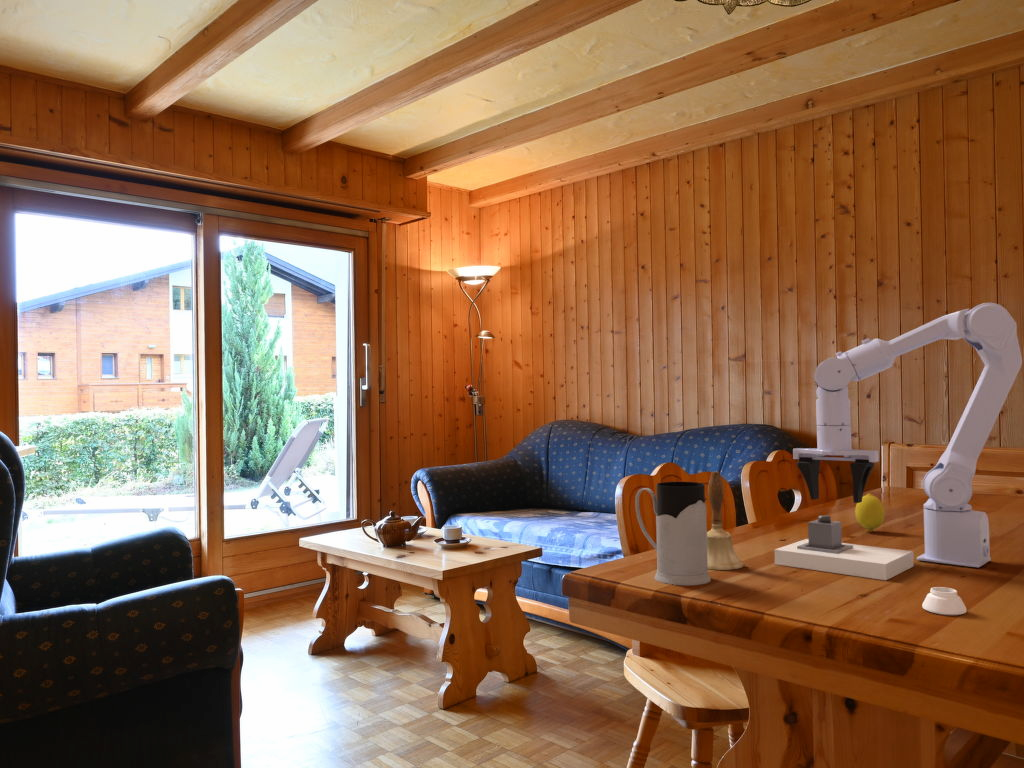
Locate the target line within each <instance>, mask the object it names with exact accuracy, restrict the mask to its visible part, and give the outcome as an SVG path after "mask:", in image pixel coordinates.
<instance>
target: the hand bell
mask: <svg viewBox="0 0 1024 768" xmlns="http://www.w3.org/2000/svg"><path fill="white" fill-rule="evenodd" d="M724 492H725V491H724V483H723V481H722V477H721V474H720V471H711V474H710V478H709V480H708V486H707V493H708V500H709V502H710V505H711V529H710V530H707V562H708V570H713V571H731V570H738V569H741V568H744V566H745V565H744V562H743V561H742V560H741V559H740V558H739V557H738V555H737V553H736V552H735V548H734V546H733V542H732V534H731V533H729V532H727V531H726V530H724V529H723V519H722V505H723V502H724V494H725V493H724Z"/></svg>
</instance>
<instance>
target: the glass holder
mask: <svg viewBox="0 0 1024 768" xmlns="http://www.w3.org/2000/svg"><path fill="white" fill-rule="evenodd" d="M705 487H706V486H705V483H704V482H703V483H702V482H698V481H697V482H695V481H662V482H658V483H656V494H655V492H654V491H653V490H652V489H651V488H648V487H643V488H640V489H638V491H637V492H636V495H635V500H634V501H635V504H634V505H635V512H636V518H637V521H638V525H639V527H640V530H641V532H642V533H643V536H644V537H645V538H646V539H647V541H648V542H649V544H650V545H651V546H652V547H653V548H654V550H655V552H656V563H657V564H656V566H657V567H656V568H657V569H656V573H655V575H654V580H655V581H657V582H658V583H661V584H662V583H663V584H666V583H667V584H666V585H672V584H673V586H674V585H675V586H699V585H705V584H708V583H709V582H711V581H712V579H711V576H710V575H709V574H710V573H709V571H708V570H709V569H708V562H707V532H708V529H707V527H708V526H707V524H708V523H707V503H706V491H705V489H706V488H705ZM643 491H646V492H648V493H649V495H650V496H651V500H652V505H653V506H652V508H653V512H654V514H655V527H656V542H655V541H654V540H653V539H652V537H651V536H650V534H649V532H648V530H647V529H646V527H645V525H644V522H643V519H642V515H641V511H640V495H642V492H643Z"/></svg>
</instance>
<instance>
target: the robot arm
mask: <svg viewBox="0 0 1024 768" xmlns="http://www.w3.org/2000/svg"><path fill="white" fill-rule="evenodd" d="M1017 327H1018V325H1017V322H1016V320H1015V319H1014V318H1013V317H1012V315H1011V314H1010V313H1009V311H1008V310H1007V309H1006V308H1005V307H1004V306H1002V305H1001V304H999V303H994V302H984V303H981V304H977V305H976V306H974V307H973V308H971V309H969V308H965V309H961V310H958V311H955V312H952V313H949V314H945V315H943V316H940V317H937V318H935V319H933V320H931V321H929V322H926V323H925V324H922V325H920V326H919V327H917V328H914V329H912V330H909V331H908V332H905V333H904V334H903V333H902V334H901V335H899V336H897V337H895V338H893V339H890V340H888V341H887V340H882V338H881V339H880V338H878V337H877V338H873V339H872V340H871V339H870V338H865V339H863V340H861V344H860V345H858V346H855V347H854V348H851V349H849V350H846V351H845V352H842V351H838V352H836V353H835V356H836V357H828V358H826V359H825V360H822V362H820V363H819V364H818V366H816V368H815V369H816V370H815V373H814V381H815V383H816V385H817V387H816V388H817V389H816V394H815V395H816V397H817V399H816V400H815V406H816V407H815V411H816V413H815V415H816V417H815V418H816V443H817V445H816V446H817V447H816V448H815V447H814V448H811V447H809V448H803V447H802V448H801V447H799V448H798V447H796V448H793V449H792V456H793V457H792V459H793V460H798V461H797V462H796V466H797V468H798V469H799V471H800V473H801V475H802V476H803V480H804V481H805V484H806V487H807V490H808V493H809V497H810V500H812V501H813V500H819V498H820V487H819V486H820V483H819V482H820V481H819V478H820V477H819V476H820V475H819V474H820V466H821V461H822V460H823V461H840V462H841V461H844V462H845V461H846V462H849V461H850V463H849V465H850V471H851V476H852V499H853V503H854V504H857V503H860V502H862V497H863V496H864V492H865V491H864V490H865V488H866V484H867V482H868V480H869V477H870V475H871V472H872V471H873V470H874V468H875V467H874V466H875V463H877V462H879V459H880V458H879V457H880V456H879V453H880V452H879V450H876V449H875V450H871V449H870V450H869V449H855V448H854V449H853V447H852V425H851V423H852V421H851V418H852V417H851V399H850V398H849V386H848V385H849V384H850V382H851V381H853V382H856V383H858V382H859V381H863V380H864V379H867V378H869V377H872V376H874V375H876V374H879V373H881V372H883V371H886V370H888V369H890V368H892V367H893V365H894V363H895V360H896V358H897V357H900V356H902V355H904V354H907V353H909V352H911V351H914V350H916V349H919V348H922V347H924V346H926V345H930V344H931V343H934V342H936V341H939V340H948V341H949V340H950V341H951V340H952V341H957V340H960V339H963V340H964V341H965V342H966V343H968V344H969V345H970V346H971V347H973V348H974V349H975V350H976V352H977V355H978V356H979V357H980V359H981V361H982V362H983V364H984V367H983V370H982V371H981V374H980V376H979V378H978V380H977V383H976V385H975V386H974V389H973V391H972V393H971V395H970V397H969V400H968V402H967V405H966V406H965V409H964V411H963V413H962V414H961V416H960V419H959V421H958V423H957V425H956V428H955V430H954V433H953V434H952V436H951V439H949V440H950V441H949V442H948V445H947V446H946V449H945V450H944V452H943V453H942V454H941V456H940V457H939V459H938V461H937V463H936V465H935V466H934V467H933V468H931V469H929V471H927V472H926V474H925V475H924V477H923V481H922V489H923V491H924V493H925V494H926V496H928V499H927V500H926V502H925V503H923V529H924V531H923V535H924V536H923V538H924V540H923V541H924V552H923V553H922V554H921V555H919V556H917V557H916V561H917V560H918V561H920V562H921V561H922V562H930V563H938V564H939V563H940V564H946V565H955V566H964V567H969V568H980V567H982V566H984V565H985V564H987V563H988V562H990V561H991V560H992V558H991V557H990V555H991V553H990V550H991V549H990V525H989V524H990V523H989V519H988V518H989V517H988V515H987V512H984V511H982V510H981V511H979V510H973V508H972V505H971V504H970V503H969V502H970V500H971V498H972V496H973V486H972V483H973V478H974V476H975V475H976V470H977V462H978V460H979V459H978V458H980V455H981V453H982V451H983V449H984V446H985V444H986V442H987V440H988V438H989V436H990V433H991V432H992V430H993V428H994V425H995V423H996V421H997V419H998V417H999V415H1000V412H1001V411H1002V408H1003V406H1004V403H1006V402H1005V401H1006V399H1007V398H1008V395H1009V393H1010V391H1011V388H1012V387H1013V385H1014V382H1015V381H1016V379H1017V376H1018V373H1019V372H1020V370H1021V368H1022V364H1023V358H1022V353H1021V348H1020V344H1019V339H1018V334H1017V333H1018V332H1017V331H1018V329H1017ZM833 456H834V457H833ZM835 456H837V457H835ZM838 456H843V457H838Z"/></svg>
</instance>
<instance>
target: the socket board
mask: <svg viewBox="0 0 1024 768" xmlns="http://www.w3.org/2000/svg"><path fill="white" fill-rule="evenodd" d="M774 565H778V566H785V567H791V568H799V569H805V570H813V571H818V572H825V573H830V574H831V573H832V574H837V575H838V574H839V575H845V576H854V577H859V578H867V579H873V580H880V581H887V580H889V579H890V580H891V578H893V577H896V576H897V575H899V574H901V573H903V572H905V571H907V570H909V569H911V568H913V567H914V566H915V564H914V551H913V550H906V549H897V548H889V547H880V546H870V545H864V544H863V545H862V544H855V543H847V542H842V547H841V548H838V549H836V550H830V549H822V548H814V547H809V538H805V539H802V540H799V541H796V542H793V543H790V544H787V545H783V546H782V547H778V548H775V549H774Z"/></svg>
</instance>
